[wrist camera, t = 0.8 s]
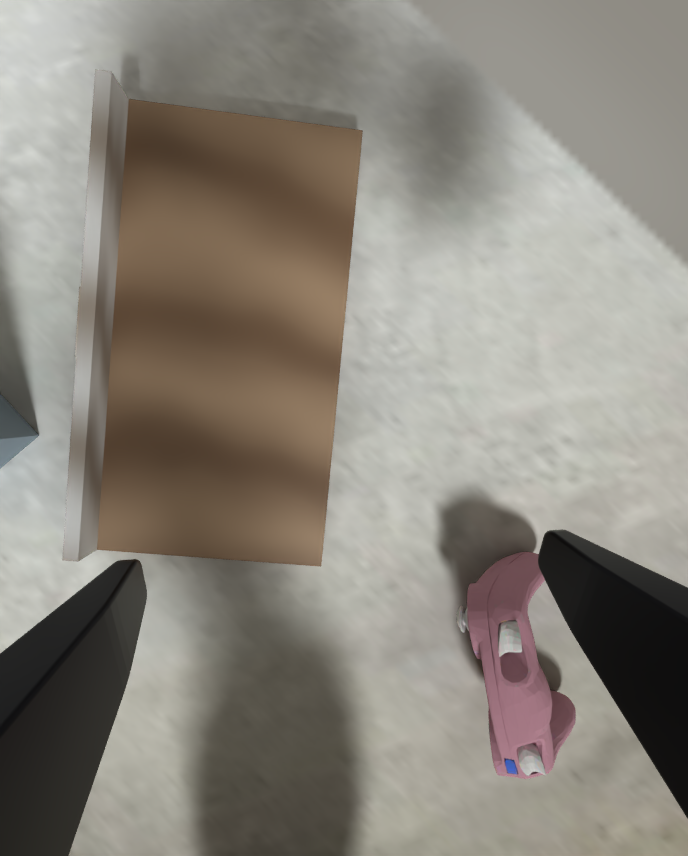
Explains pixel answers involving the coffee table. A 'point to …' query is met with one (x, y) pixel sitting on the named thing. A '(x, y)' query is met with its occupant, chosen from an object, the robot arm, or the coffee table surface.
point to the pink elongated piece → (515, 669)
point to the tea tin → (13, 432)
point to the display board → (208, 331)
